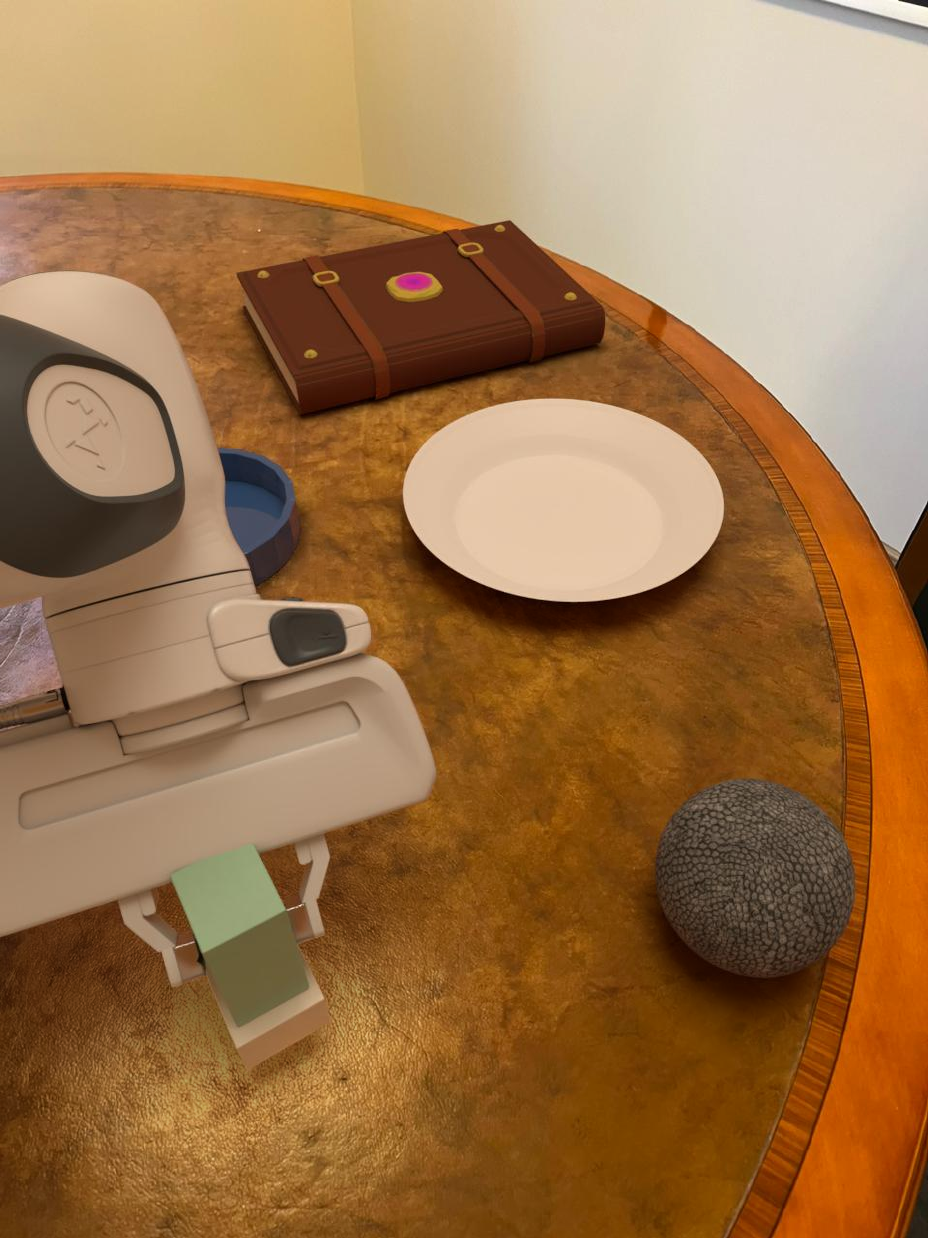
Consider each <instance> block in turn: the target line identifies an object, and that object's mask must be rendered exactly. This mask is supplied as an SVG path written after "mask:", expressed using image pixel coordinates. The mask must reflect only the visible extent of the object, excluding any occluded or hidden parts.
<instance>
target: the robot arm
mask: <svg viewBox="0 0 928 1238" xmlns="http://www.w3.org/2000/svg"><path fill="white" fill-rule="evenodd" d="M214 435H215V434H214V432H213V429H212V425H211V422H210V419H209V416H208V413H207V410H206V407H205V404H204V400H203V398H202V395H201V392H200V389H199V387H198V384H197V382H196V379H195V376H194V374H193V371H192V368H191V366H190V364H189V361H188V359H187V357H186V354H185V352H184V349H183V347H182V345H181V343H180V341H179V339H178V336H177V335H176V333H175V330H174V329H173V327H172V325H171V323H170V321H169V319H168V317H167V315H166V314H165V312H164V311H163V308H162V307H161V306H160V304H159V303H158V301H156V299H155V298H154V297H153V296H152V295H151V294H149V292H148V291H146V290H144V289H143V288H141V287H139V286H137V285H136V284H134V283H131V282H129V281H127V280H125V279H121V278H119V277H116V276H112V275H110V274H105V273H100V272H94V271H93V272H92V271H84V270H50V271H41V272H35V273H31V274H26V275H23V276H20V277H17V278H14V279H11V280H9V281H6V282H5V283H3V284H2V285H0V610H2V609H5V608H8V607H12V606H16V605H19V604H24V603H27V602H29V601H32V600H35V599H38V598H41V610H42V616H43V619H44V624H45V627H46V631H47V635H48V637H49V642H50V645H51V648H52V651H53V655H54V659H55V662H56V666H57V670H58V673H59V676H60V680H61V683H62V686H61V687H59V688H54V689H51V690H50V689H49V690H47V691H44V692H43V691H42V692H39V693H35V694H33V695H28V696H25V697H22V698H19V699H17V700H14V701H12V702H9V703H6V704H2V705H0V730H1V731H0V938H3V937H5V936H10V935H11V934H12V935H13V934H16V933H18V932H22V931H25V930H28V929H31V928H34V927H37V926H40V925H44V924H47V923H50V922H53V921H56V920H59V919H62V918H65V917H68V916H71V915H75V914H77V913H81V912H84V911H87V910H91V909H93V908H96V907H99V906H102V905H105V904H110V903H113V902H116V901H117V904H118V906H119V910H120V914H121V918H122V921H123V925H125V926H126V927H127V928H128V929H129V930H131V931H132V932H133V933H134V934H135V935H136V936H137V937H139V938H140V939H141V940H142V941H144V942H145V943H146V944H147V945H148V946H149V947H150V948H152V949H153V950H154V951H156V952H157V953H158V954H159V953H161V956H162V960H163V962H164V967H165V970H166V974H167V977H168V980H169V984H170V986H171V988H176V987H180V986H184V985H185V984H188V983H190V982H193V981H196V980H199V979H202V978H204V977H206V962H205V959H204V957H203V955H202V952H201V950H200V949H199V945H198V943H197V940H196V938H195V936H194V933H193V931H192V929H189V930H186V931H183V932H180V933H179V932H178V931H176V929H174V928H173V927H172V926H171V925H170V924H169V923H168V922H167V921H166V920H165V919H164V918H162V916H161V915H159V914H158V913H157V909H158V904H159V900H160V894H159V893H160V892H159V890H158V887H162V886H165V885H168V884H171V883H172V880H171V878H170V875H171V874H172V873H174V872H177V871H179V870H181V869H183V868H185V867H187V866H189V865H191V864H193V863H196V862H198V861H201V860H203V859H206V858H209V857H213V856H216V855H219V854H222V853H225V852H228V851H231V850H234V849H237V848H240V847H244V846H247V845H250V844H254V846H255V848H256V850H257V852H258V854H259V855H262V854H265V853H267V852H271V851H273V850H277V849H280V848H283V847H286V846H290V845H293V847H294V851H295V854H296V857H297V860H298V863H299V865H302V866H304V869H303V873H302V878H301V881H300V884H299V889H298V893H296V894H294V895H291V896H288V897H284V898H283V899H282V898H281V900H282V902H283V904H284V906H285V908H286V911H287V914H288V917H289V921H290V924H291V927H292V931H293V934H294V937H295V941H296V944H298V945H300V944H303V943H305V942H306V943H307V942H309V941H312V940H314V939H317V938H320V937H323V936H325V935H326V933H325V928H324V924H323V919H322V916H321V913H320V909H319V905H318V902H317V901H318V899H319V898H320V895H321V891H322V888H323V884H324V880H325V877H326V874H327V870H328V866H329V862H330V859H331V855H330V851H329V848H328V847H329V846H328V843H327V839H326V835H325V834H327V833H329V832H333V831H336V830H339V829H342V828H345V827H350V826H351V825H355V824H358V823H361V822H364V821H367V820H370V819H373V818H377V817H381V816H383V815H386V814H389V813H393V812H396V811H398V810H401V809H402V810H403V809H405V808H407V807H411V806H415V805H418V804H421V803H423V802H425V801H427V800H428V798H429V797H430V795H431V794H432V793H431V792H432V790H433V788H434V786H435V783H436V780H437V778H438V777H437V776H438V771H437V767H436V764H435V763H436V762H435V759H434V756H433V752H432V749H431V747H430V746H431V745H430V743H429V740H428V737H427V734H426V732H425V729H424V725H423V724H422V720H421V719H420V716H419V713H418V711H417V708H416V706H415V704H414V702H413V700H412V698H411V695H410V693H409V690H408V688H407V686H406V684H405V682H404V681H403V679H402V678H401V676H400V675H399V674H398V672H397V671H396V670H395V669H394V668H393V666H391V664H389V663H388V662H386V661H385V660H383V659H381V658H379V657H376V656H374V655H372V654H371V655H370V654H367V653H364V652H365V651H366V650H367V649H368V648H369V647H370V646H371V643H372V629H371V624H370V622H369V621H370V620H369V617H368V615H367V613H366V611H365V610H364V609H363V608H362V607H360V606H358V605H356V604H353V603H345V602H329V601H328V602H326V601H325V602H324V601H304V599H303V598H302V597H295V596H291V597H290V596H289V597H288V596H285V597H282V598H281V599H262V598H261V595H260V593H258V592H257V589H256V586H255V585H254V582H253V578H252V574H251V571H249V570H250V567H249V564H248V561H247V559H246V557H245V555H244V553H243V552H242V550H241V549H240V547H239V546H238V544H237V542H236V540H235V539H234V537H233V534H232V532H231V529H230V527H229V523H228V519H227V515H226V508H225V475H224V471H223V467H222V463H221V460H220V456H219V452H218V449H217V448H218V445H217V442H216V439H215V436H214ZM11 727H12V728H11ZM7 728H8V729H7ZM2 729H3V730H2Z"/></svg>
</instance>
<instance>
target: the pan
mask: <svg viewBox="0 0 928 1238" xmlns="http://www.w3.org/2000/svg"><path fill="white" fill-rule="evenodd" d="M217 449H218V452H219V456H220V460H221V463H222V467H223V471H224V475H225V508H226V515H227V519H228V523H229V527H230V529H231V532H232V534H233V537H234V539H235V540H236V542H237V544H238V546H239V547H240V549H241V550H242V552H243V553H244V555H245V557H246V559H247V561H248V564H249V567H250V570H249V571H251V574H252V578H253V582H254V585H255V587H256V586H258V585H260V584H261V583H263V582H265V581H266V580H269V578H271V577H273V575H275V574H276V573H277V572H279V570H281V569H282V568H283V567H284V566H285V565H286V563H287V562H288V561H289V560H290V558H291V557H292V556H293V554H294V553H295V551H296V548H297V547H298V543H299V540H300V537H301V523H300V517H299V510H298V505H297V499H296V498H297V497H296V492H295V486H294V482H293V480H292V479H291V478H290V476H289V475H288V473H286V471H285V470H284V469H283V467H282V465H280V464H278V463H276V462H275V461H273V460H271V458H268V457H267V456H265V455H263V454H258V453H255V452H251V451H247V450H245V449H244V450H243V449H242V448H241V449H240V448H231V447H230V448H228V447H217Z"/></svg>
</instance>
